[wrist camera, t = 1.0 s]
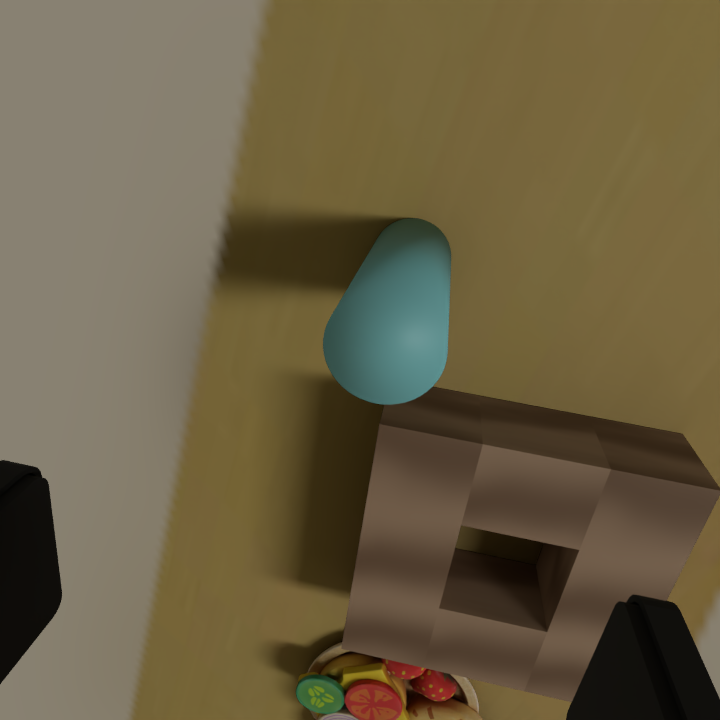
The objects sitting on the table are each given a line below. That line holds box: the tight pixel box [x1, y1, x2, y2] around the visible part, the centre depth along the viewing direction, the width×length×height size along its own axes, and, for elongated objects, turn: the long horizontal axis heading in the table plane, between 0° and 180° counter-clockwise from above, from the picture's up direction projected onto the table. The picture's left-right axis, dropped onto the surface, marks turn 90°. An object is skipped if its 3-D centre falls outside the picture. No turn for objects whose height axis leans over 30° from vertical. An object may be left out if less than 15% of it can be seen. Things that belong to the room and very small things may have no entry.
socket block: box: [341, 387, 720, 702], centre depth 32 cm, size 16×16×5 cm
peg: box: [323, 218, 451, 405], centre depth 24 cm, size 4×4×12 cm
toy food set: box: [296, 642, 483, 720], centre depth 42 cm, size 13×13×3 cm
